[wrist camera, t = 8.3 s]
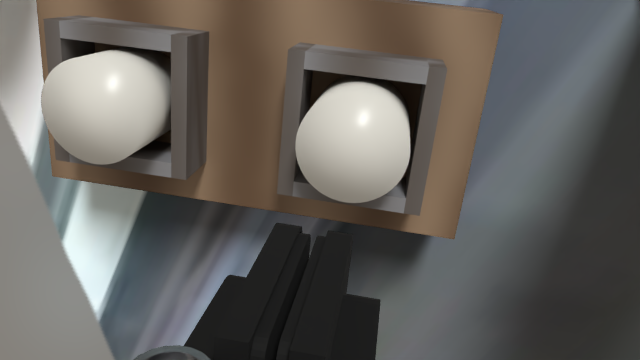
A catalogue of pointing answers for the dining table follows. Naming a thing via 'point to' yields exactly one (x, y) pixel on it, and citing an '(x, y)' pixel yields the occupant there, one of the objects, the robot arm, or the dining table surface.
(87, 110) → the knob
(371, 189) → the knob
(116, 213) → the dining table surface
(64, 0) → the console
